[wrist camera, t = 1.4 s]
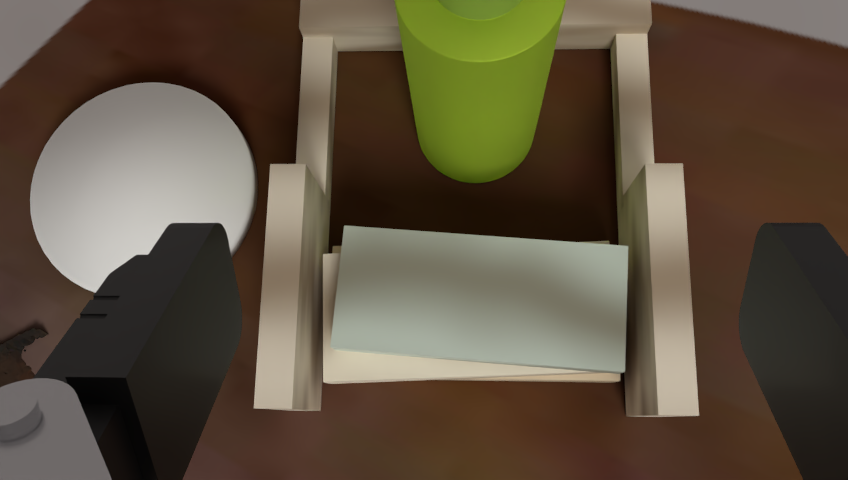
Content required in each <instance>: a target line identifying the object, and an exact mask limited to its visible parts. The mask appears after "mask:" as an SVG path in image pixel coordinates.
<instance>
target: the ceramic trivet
mask: <svg viewBox="0 0 848 480" xmlns="http://www.w3.org/2000/svg"><path fill="white" fill-rule="evenodd" d="M257 198H258V176H257V168H256V164H255V160H254V157H253V154H252V151H251V149H250V147H249V144H248V142H247V141H246V139H245V137H244V136H243V134H242V132H241V131H240V130H239V128H238V127H237V126H236V124H235V123H234V122H233V121H232V120H231V118H230V117H229V116H228V115H227V113H226V112H225V111H224V110H222V109H221V108H220V107H219V106H218V105H217V104H216V103H214V102H213V101H211V100H210V99H208V98H207V97H205V96H204V95H202V94H200V93H198V92H196V91H194V90H191V89H188V88H185V87H182V86H178V85H173V84H168V83H155V82H150V83H137V84H131V85H126V86H122V87H119V88H116V89H112V90H110V91H107V92H105V93H103V94H101V95H98V96H97V97H95V98H93V99H91V100H90V101H88V102H86V103H85V104H83V105H82V106H81V107H79V108H78V109H77V110H75V111H74V112H73V113H72V114H71V115H70V116H69V117H68V118H67V119H65V120H64V121H63V122H62V124H61V125H60V126H59V127H58V128H57V130H56V131H55V132H54V133H53V135H52V136H51V138H50V139H49V141H48V142H47V144H46V145H45V147H44V149H43V151H42V153H41V155H40V157H39V160H38V163H37V165H36V168H35V171H34V175H33V180H32V185H31V195H30V208H31V218H32V223H33V228H34V231H35V234H36V236H37V239H38V242H39V244H40V245H41V247H42V249H43V251H44V253H45V254H46V256H47V257H48V259H49V260H50V261H51V263H52V264H53V265H54V266H55V267H56V268H57V269H58V270H59V271H60V272H61V273H62V274H63V275H64V276H66V277H67V278H68V279H70V280H71V281H72V282H74V283H76V284H77V285H79V286H81V287H83V288H85V289H87V290H90V291H92V292H95V293H96V291H97V290H98V289H99V287H100V286H101V285H102V283H103V282H104V280H105V279H106V278H107V276H108V275H109V274H110V273H111V272H113V271H114V270H115V269H117V268H118V267H120V266H121V265H123V264H124V263H125V262H127V261H128V260H130V259H131V258H133V257H134V256H135V255H148V254H149V253H150V251H151V250H152V248H153V247H154V245H155V244H156V242H157V241H158V239H159V238H160V236H161V235H162V233H163V232H164V231H165V229H166V228H167V226H168V225H169V224H171V223H220V224H222V225H223V227H224V228H225V230H226V233H227V237H228V242H229V247H230V252H231V257H233V255H234V254H235V253H236V251H237V250H238V249H239V247H240V246H241V244H242V242H243V240H244V239H245V237H246V235H247V233H248V231H249V228H250V226H251V224H252V221H253V217H254V214H255V210H256V205H257Z"/></svg>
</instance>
